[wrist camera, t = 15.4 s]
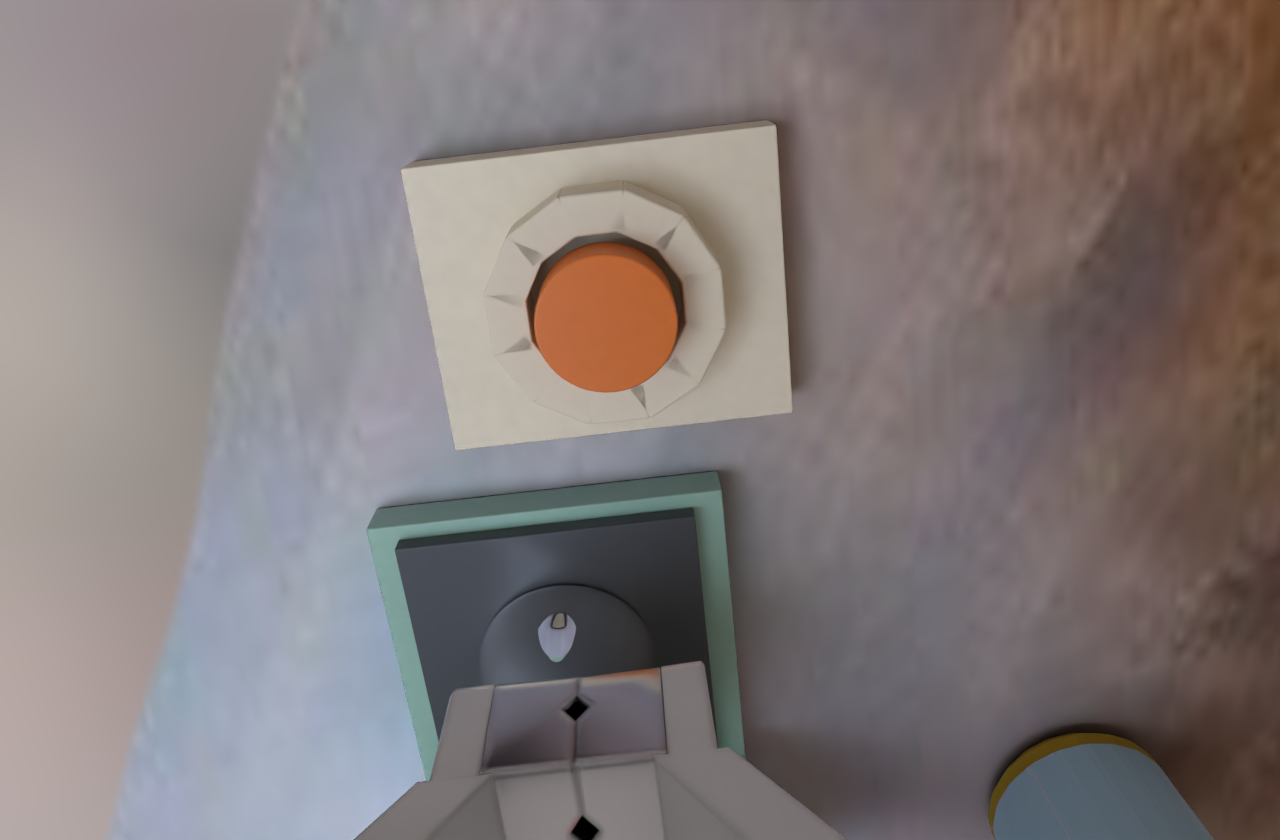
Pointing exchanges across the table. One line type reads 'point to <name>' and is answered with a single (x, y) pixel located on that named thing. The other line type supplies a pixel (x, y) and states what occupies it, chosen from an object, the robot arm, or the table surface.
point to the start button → (606, 317)
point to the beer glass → (564, 637)
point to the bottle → (1089, 794)
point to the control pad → (605, 212)
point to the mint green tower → (557, 580)
